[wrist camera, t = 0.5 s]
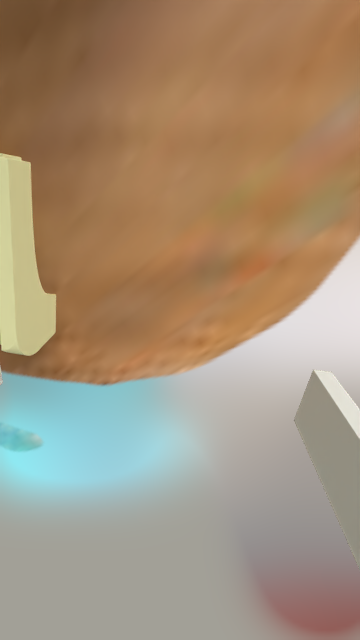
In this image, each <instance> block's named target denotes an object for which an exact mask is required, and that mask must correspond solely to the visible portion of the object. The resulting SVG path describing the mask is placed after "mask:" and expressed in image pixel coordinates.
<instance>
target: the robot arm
mask: <svg viewBox="0 0 360 640" xmlns="http://www.w3.org/2000/svg"><path fill="white" fill-rule="evenodd" d="M2 383H3V381H2V374H1V367H0V385H1V384H2ZM294 421H295V424H296V426H297V428H298V430H299V433H300V435H301V437H302V440H303V442H304V444H305V446H306V449H307V451H308V453H309V456H310V458H311V460H312V462H313V465H314V467H315V469H316V472H317V474H318V476H319V478H320V481H321V483H322V485H323V487H324V490H325V492H326V494H327V497H328V499H329V501H330V503H331V506H332V508H333V510H334V512H335V514H336V516H337V519H338V522H339V524H340V526H341V528H342V531H343V533H344V535H345V537H346V540H347V542H348V544H349V547H350V548H351V551H352V553H353V556H354V558H355V560H356V563H357V565H358V567H359V569H360V409H359V408H358V407H357V405H356V404H355V403H354V401H353V400H352V399H351V397H350V396H349V395H348V393H347V392H346V391H345V389H344V388H343V387H342V386H341V384H340V383H339V381H338V380H337V379H336V378H335V376H334V375H333V374H332V372H327V371H319V370H313V372H312V375H311V377H310V380H309V382H308V385H307V388H306V390H305V393H304V395H303V398H302V401H301V403H300V406H299V409H298V411H297V414H296V416H295V419H294Z"/></svg>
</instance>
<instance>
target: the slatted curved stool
mask: <svg viewBox="0 0 360 640" xmlns="http://www.w3.org/2000/svg"><path fill="white" fill-rule="evenodd" d="M55 332H56V295H55V294H48V293H45V292H44V290H43V288H42V286H41V283H40V280H39V276H38V270H37V264H36V256H35V246H34V233H33V216H32V192H31V163H30V162H26V161H21V157H17V156H12V155H7V154H2V153H0V345H1V347H2V351H4V352H9V353H15V354H21V355H27V356H30V355H33V354H35V353H36V352H37V351H39V350H40V348H41V347H42V346H43V345H44V344H45V343H46V342H47V341H48V340H49V339H50V338H51V337H52V336H53V335H54V333H55Z"/></svg>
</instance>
